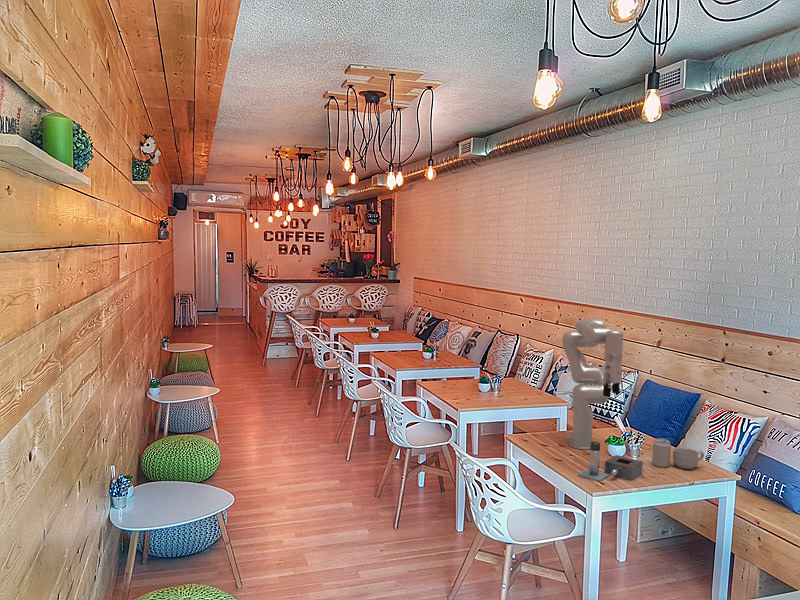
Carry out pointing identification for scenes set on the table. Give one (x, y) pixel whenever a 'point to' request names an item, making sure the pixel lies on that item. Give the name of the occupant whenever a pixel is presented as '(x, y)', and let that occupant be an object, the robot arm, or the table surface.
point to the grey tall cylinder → (594, 458)
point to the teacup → (686, 457)
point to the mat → (598, 478)
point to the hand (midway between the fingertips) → (611, 394)
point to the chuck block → (623, 467)
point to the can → (661, 453)
